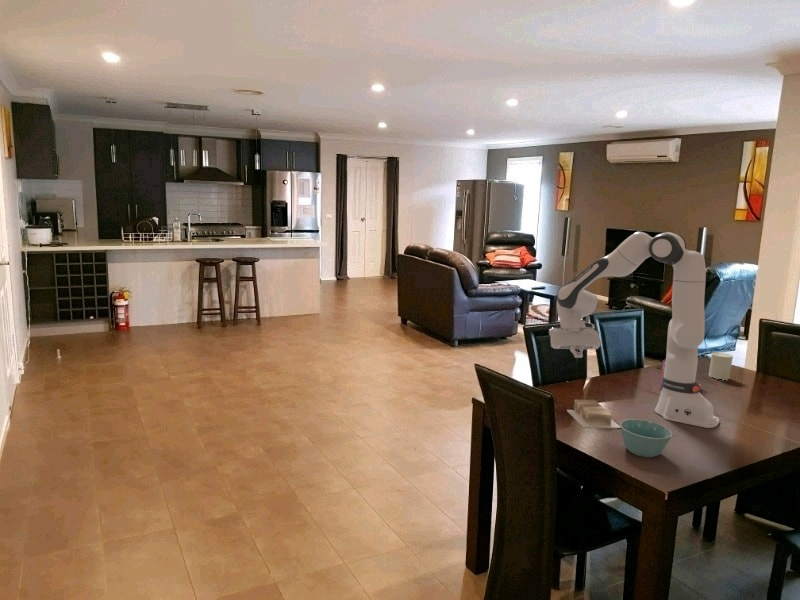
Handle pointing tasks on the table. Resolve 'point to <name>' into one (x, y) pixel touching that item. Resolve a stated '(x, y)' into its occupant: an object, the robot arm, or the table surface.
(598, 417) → the birch block
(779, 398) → the table surface
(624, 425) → the bowl
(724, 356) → the can
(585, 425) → the mat
